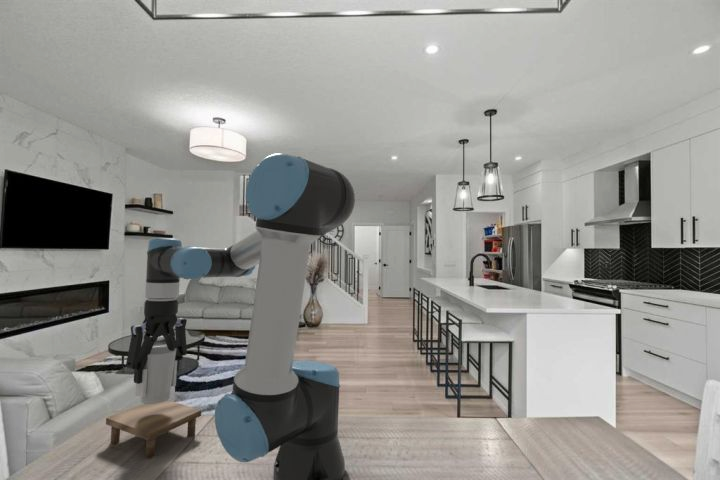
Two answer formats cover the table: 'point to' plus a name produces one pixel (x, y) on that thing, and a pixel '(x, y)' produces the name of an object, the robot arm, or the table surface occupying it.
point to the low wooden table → (153, 422)
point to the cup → (159, 375)
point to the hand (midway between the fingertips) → (156, 390)
